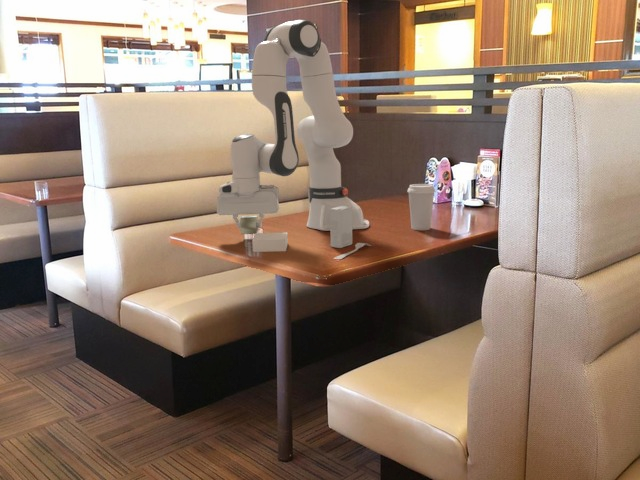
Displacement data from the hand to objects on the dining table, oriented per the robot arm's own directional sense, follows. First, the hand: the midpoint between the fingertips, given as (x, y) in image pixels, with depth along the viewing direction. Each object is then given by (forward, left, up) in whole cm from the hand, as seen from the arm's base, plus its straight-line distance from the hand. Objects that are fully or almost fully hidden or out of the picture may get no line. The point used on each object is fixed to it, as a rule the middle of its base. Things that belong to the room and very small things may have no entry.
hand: (249, 227), depth 209 cm
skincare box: (-30, +11, -4) cm, 33 cm away
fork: (-34, +20, -5) cm, 40 cm away
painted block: (-8, +12, -4) cm, 15 cm away
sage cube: (0, 0, -2) cm, 2 cm away
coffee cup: (-57, -14, -4) cm, 59 cm away
